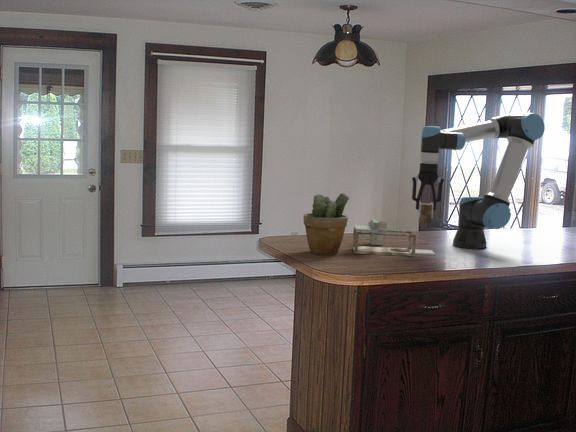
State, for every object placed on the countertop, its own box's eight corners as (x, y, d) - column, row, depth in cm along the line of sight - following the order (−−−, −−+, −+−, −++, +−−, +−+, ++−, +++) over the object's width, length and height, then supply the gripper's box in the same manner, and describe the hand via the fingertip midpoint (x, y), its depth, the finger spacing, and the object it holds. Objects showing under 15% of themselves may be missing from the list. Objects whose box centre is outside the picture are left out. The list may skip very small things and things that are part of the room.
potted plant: (315, 257, 273) (318, 194, 270) (293, 249, 289) (296, 190, 286) (354, 255, 282) (357, 194, 279) (330, 248, 298) (334, 190, 295)
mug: (385, 246, 310) (386, 224, 309) (357, 244, 312) (358, 222, 311) (386, 243, 318) (387, 222, 317) (359, 241, 320) (360, 220, 319)
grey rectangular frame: (410, 251, 299) (411, 231, 298) (414, 256, 287) (416, 235, 286) (352, 248, 299) (353, 228, 298) (354, 253, 287) (355, 232, 286)
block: (428, 222, 297) (430, 203, 297) (430, 223, 293) (432, 204, 292) (418, 221, 298) (419, 203, 297) (420, 223, 293) (421, 204, 292)
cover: (375, 228, 298) (375, 219, 298) (378, 232, 286) (378, 222, 285) (354, 227, 298) (354, 218, 298) (356, 231, 286) (356, 221, 286)
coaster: (431, 251, 301) (431, 250, 301) (435, 255, 292) (435, 253, 292) (410, 250, 301) (410, 249, 301) (413, 254, 292) (414, 252, 292)
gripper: (447, 163, 296) (443, 217, 299) (406, 161, 296) (403, 215, 299) (451, 164, 288) (447, 219, 291) (409, 162, 289) (405, 217, 291)
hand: (425, 217), depth 295 cm, fingers closed on block, 4 cm apart
